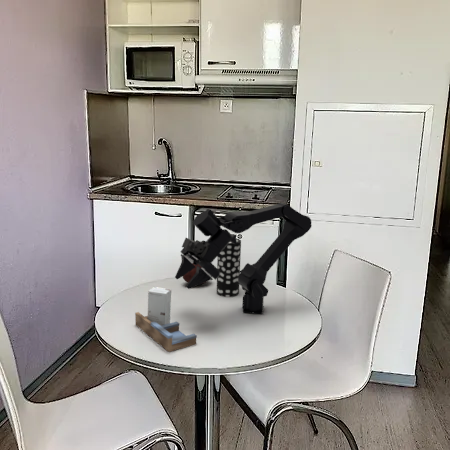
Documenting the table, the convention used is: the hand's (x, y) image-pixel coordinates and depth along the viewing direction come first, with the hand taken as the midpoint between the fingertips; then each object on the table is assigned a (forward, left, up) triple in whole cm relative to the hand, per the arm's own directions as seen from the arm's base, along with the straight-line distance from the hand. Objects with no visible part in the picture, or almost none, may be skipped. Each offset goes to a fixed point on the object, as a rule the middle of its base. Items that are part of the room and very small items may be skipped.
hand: (181, 283), depth 151 cm
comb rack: (+3, +9, -13) cm, 16 cm away
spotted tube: (-10, -30, -13) cm, 34 cm away
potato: (+3, -36, -13) cm, 38 cm away
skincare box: (+6, +4, -13) cm, 15 cm away
